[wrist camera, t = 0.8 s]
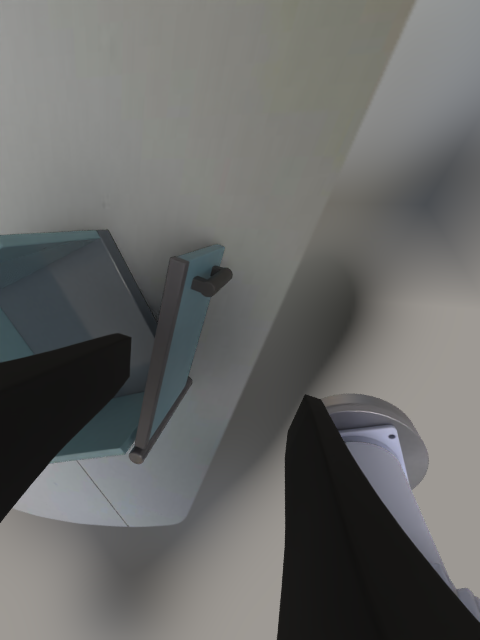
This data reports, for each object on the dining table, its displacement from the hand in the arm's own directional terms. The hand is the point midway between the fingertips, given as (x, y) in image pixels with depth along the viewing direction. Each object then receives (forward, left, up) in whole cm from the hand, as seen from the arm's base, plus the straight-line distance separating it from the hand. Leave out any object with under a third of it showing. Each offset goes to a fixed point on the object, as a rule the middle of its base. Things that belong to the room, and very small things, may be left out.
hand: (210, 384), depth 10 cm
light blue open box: (+2, +15, -9) cm, 18 cm away
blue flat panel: (0, +3, -8) cm, 9 cm away
